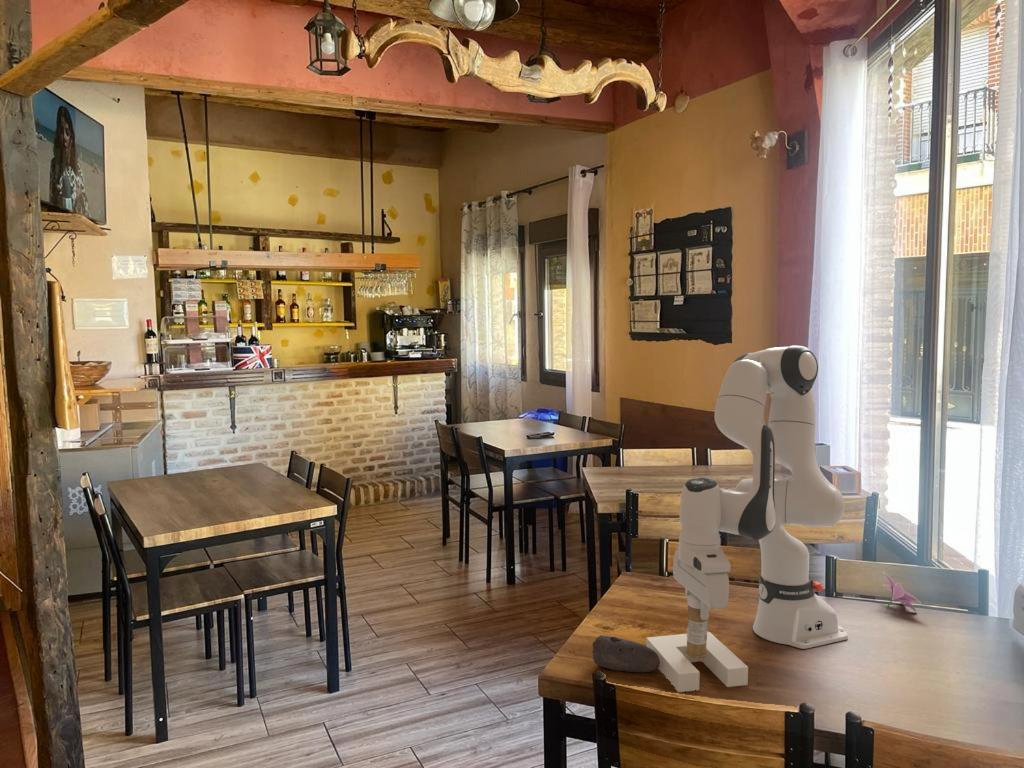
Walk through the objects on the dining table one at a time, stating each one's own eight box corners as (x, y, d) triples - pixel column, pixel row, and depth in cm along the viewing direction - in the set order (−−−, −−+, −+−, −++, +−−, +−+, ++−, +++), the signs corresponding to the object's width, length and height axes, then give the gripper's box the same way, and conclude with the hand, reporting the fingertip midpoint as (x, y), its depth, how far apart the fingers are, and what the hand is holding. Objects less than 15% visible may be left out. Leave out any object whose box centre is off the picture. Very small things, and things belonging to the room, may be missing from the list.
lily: (919, 627, 187) (934, 593, 188) (874, 604, 190) (888, 571, 192) (904, 623, 199) (918, 591, 200) (862, 601, 202) (875, 570, 203)
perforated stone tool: (661, 669, 163) (661, 639, 162) (658, 680, 158) (658, 650, 157) (595, 659, 167) (596, 630, 167) (590, 670, 162) (591, 640, 162)
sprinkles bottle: (692, 648, 165) (693, 591, 163) (710, 654, 162) (712, 596, 160) (682, 655, 161) (683, 596, 160) (700, 661, 158) (702, 602, 157)
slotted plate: (708, 647, 173) (709, 631, 173) (747, 684, 156) (748, 667, 155) (646, 653, 170) (646, 637, 170) (678, 692, 153) (678, 674, 152)
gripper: (666, 539, 169) (665, 596, 170) (706, 568, 149) (705, 633, 150) (691, 537, 170) (690, 594, 171) (735, 566, 150) (733, 631, 151)
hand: (697, 613), depth 161 cm, fingers closed on sprinkles bottle, 4 cm apart
